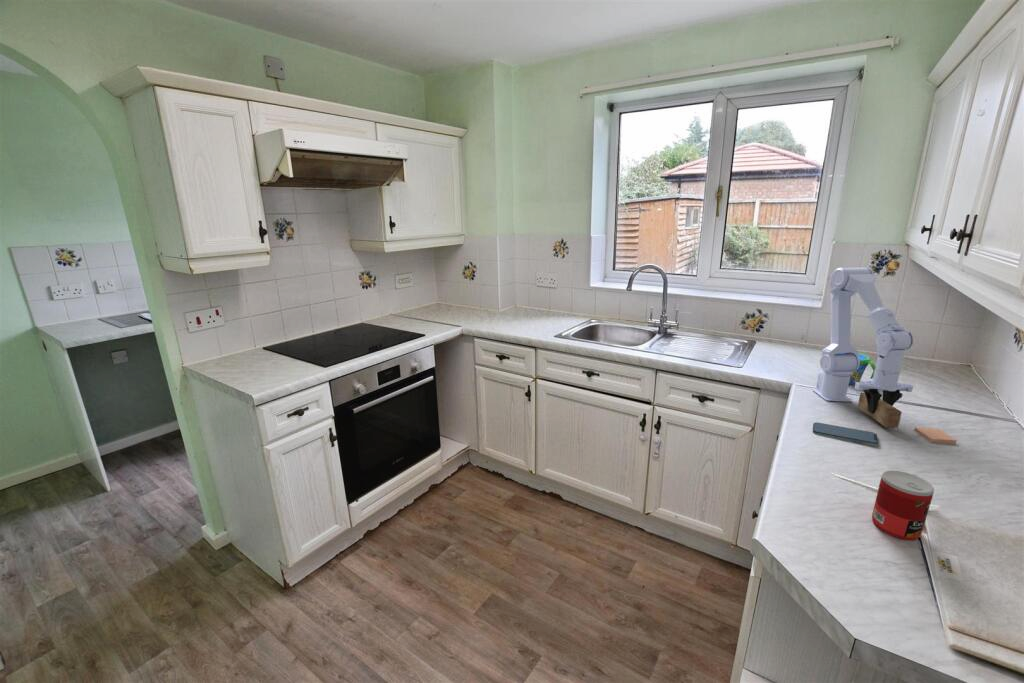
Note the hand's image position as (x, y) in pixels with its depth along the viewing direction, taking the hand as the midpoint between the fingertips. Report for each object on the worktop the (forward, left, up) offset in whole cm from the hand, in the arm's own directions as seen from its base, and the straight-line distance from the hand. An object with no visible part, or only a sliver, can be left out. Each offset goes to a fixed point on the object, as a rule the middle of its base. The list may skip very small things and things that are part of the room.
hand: (877, 412), depth 137 cm
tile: (+6, +10, -3) cm, 12 cm away
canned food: (+51, -26, -3) cm, 57 cm away
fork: (+38, -21, -4) cm, 44 cm away
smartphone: (+10, -14, -4) cm, 18 cm away
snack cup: (-34, +10, -3) cm, 36 cm away
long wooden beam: (0, 0, -2) cm, 2 cm away
